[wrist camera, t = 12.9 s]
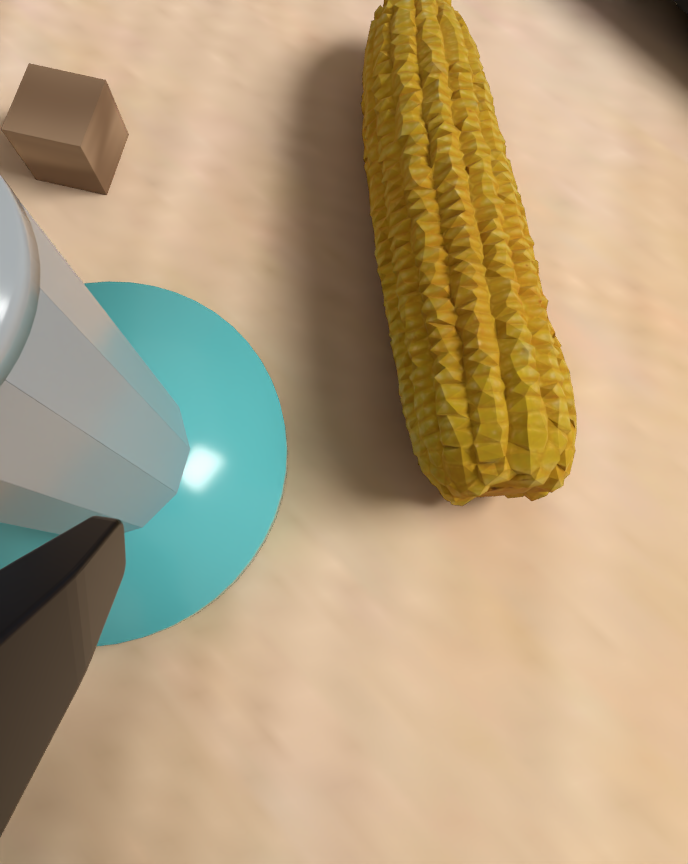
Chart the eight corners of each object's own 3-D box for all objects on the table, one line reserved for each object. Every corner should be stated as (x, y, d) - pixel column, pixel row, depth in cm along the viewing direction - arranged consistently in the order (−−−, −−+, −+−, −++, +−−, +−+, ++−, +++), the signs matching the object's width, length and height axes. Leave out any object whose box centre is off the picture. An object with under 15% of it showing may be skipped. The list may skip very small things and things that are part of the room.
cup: (160, 560, 21) (-76, 520, 8) (-18, 518, 21) (-515, 417, 9) (210, 389, 23) (74, 138, 10) (44, 350, 23) (-300, 54, 10)
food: (555, 499, 24) (633, 472, 18) (409, 522, 23) (440, 502, 17) (446, 43, 28) (479, -96, 23) (323, 55, 28) (325, -83, 22)
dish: (237, 682, 21) (232, 687, 20) (-131, 596, 22) (-156, 597, 20) (322, 336, 24) (322, 323, 23) (1, 264, 25) (-15, 248, 24)
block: (107, 196, 26) (80, 146, 23) (37, 180, 26) (1, 129, 23) (129, 136, 26) (105, 80, 24) (60, 121, 27) (28, 63, 24)
